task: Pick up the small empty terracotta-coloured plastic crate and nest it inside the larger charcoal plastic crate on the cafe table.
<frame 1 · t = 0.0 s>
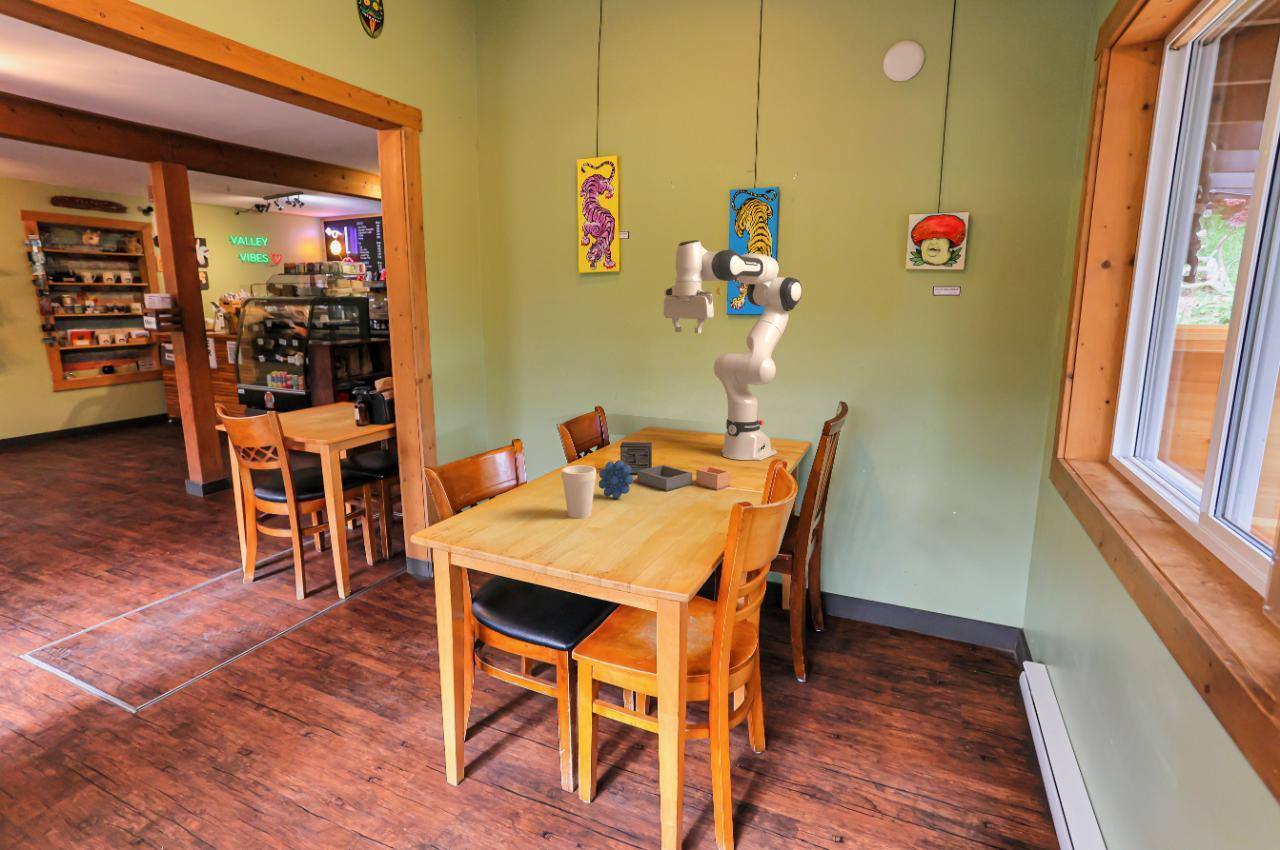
hand: (687, 332, 216), 48 cm above the table, fingers open, 8 cm apart
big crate: (664, 483, 208), on the table
grapes: (617, 498, 194), on the table
small crate: (712, 485, 206), on the table
small box: (636, 473, 221), on the table
foam cup: (579, 515, 178), on the table
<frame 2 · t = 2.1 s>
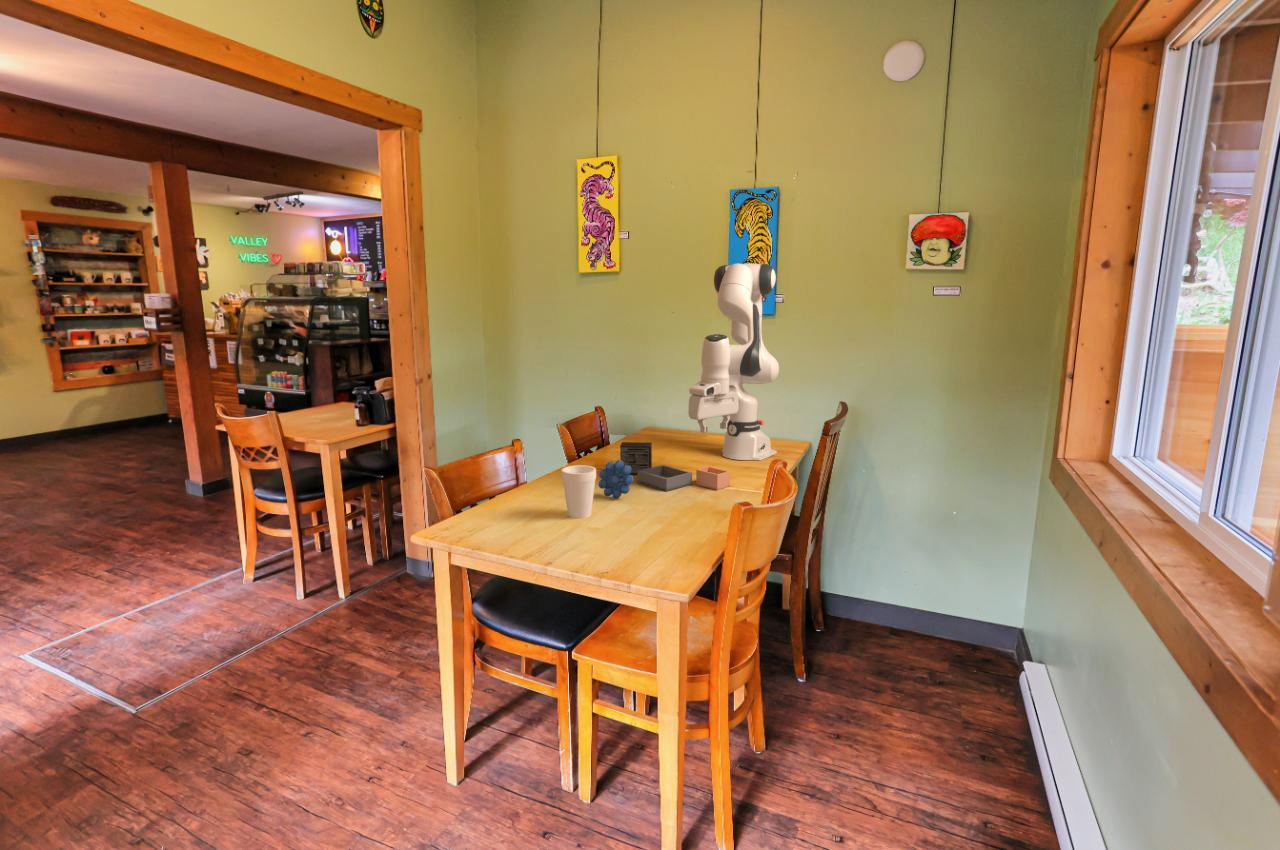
hand: (713, 430, 203), 18 cm above the table, fingers open, 8 cm apart
nothing on the table moved.
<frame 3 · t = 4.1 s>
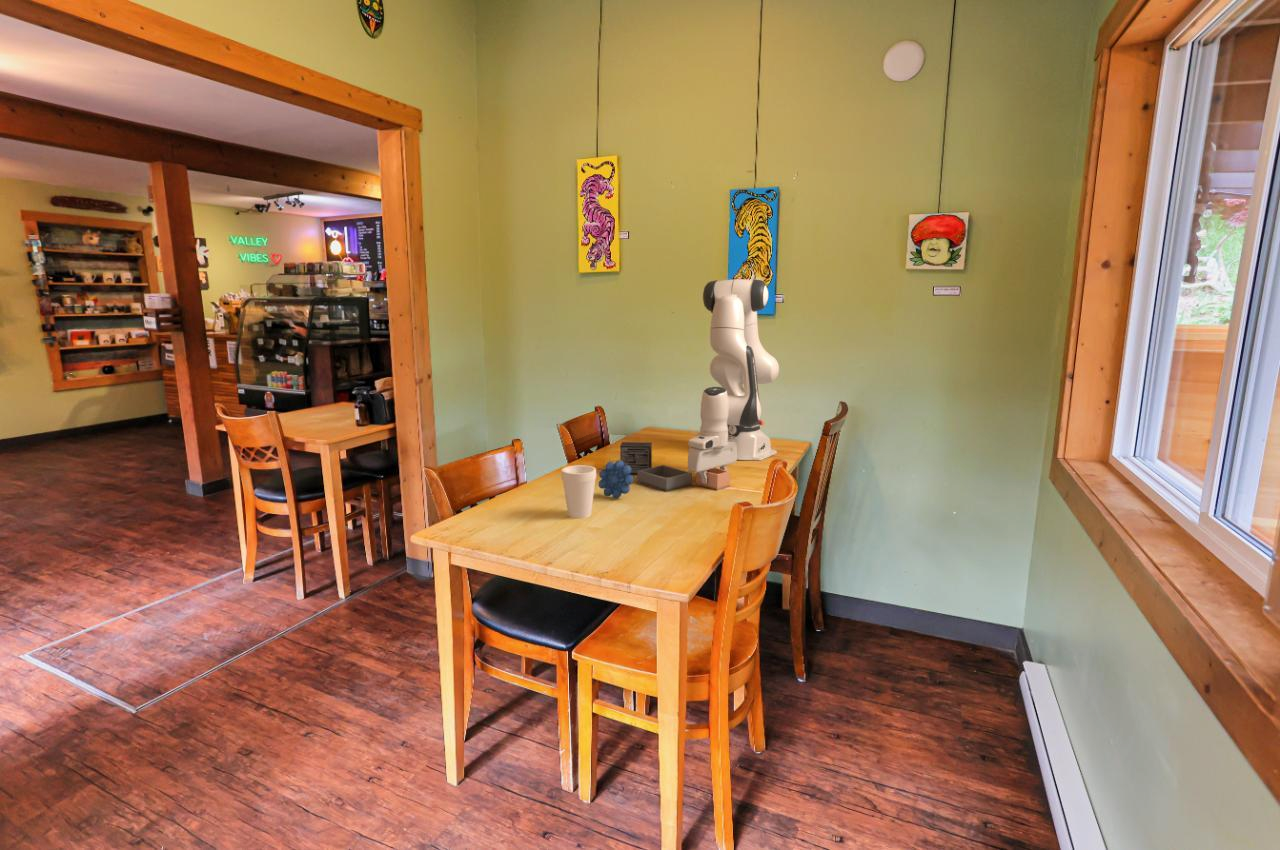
hand: (712, 480, 206), 2 cm above the table, fingers closed on small crate, 6 cm apart
small crate: (712, 485, 206), on the table, touching gripper
everything else where it was.
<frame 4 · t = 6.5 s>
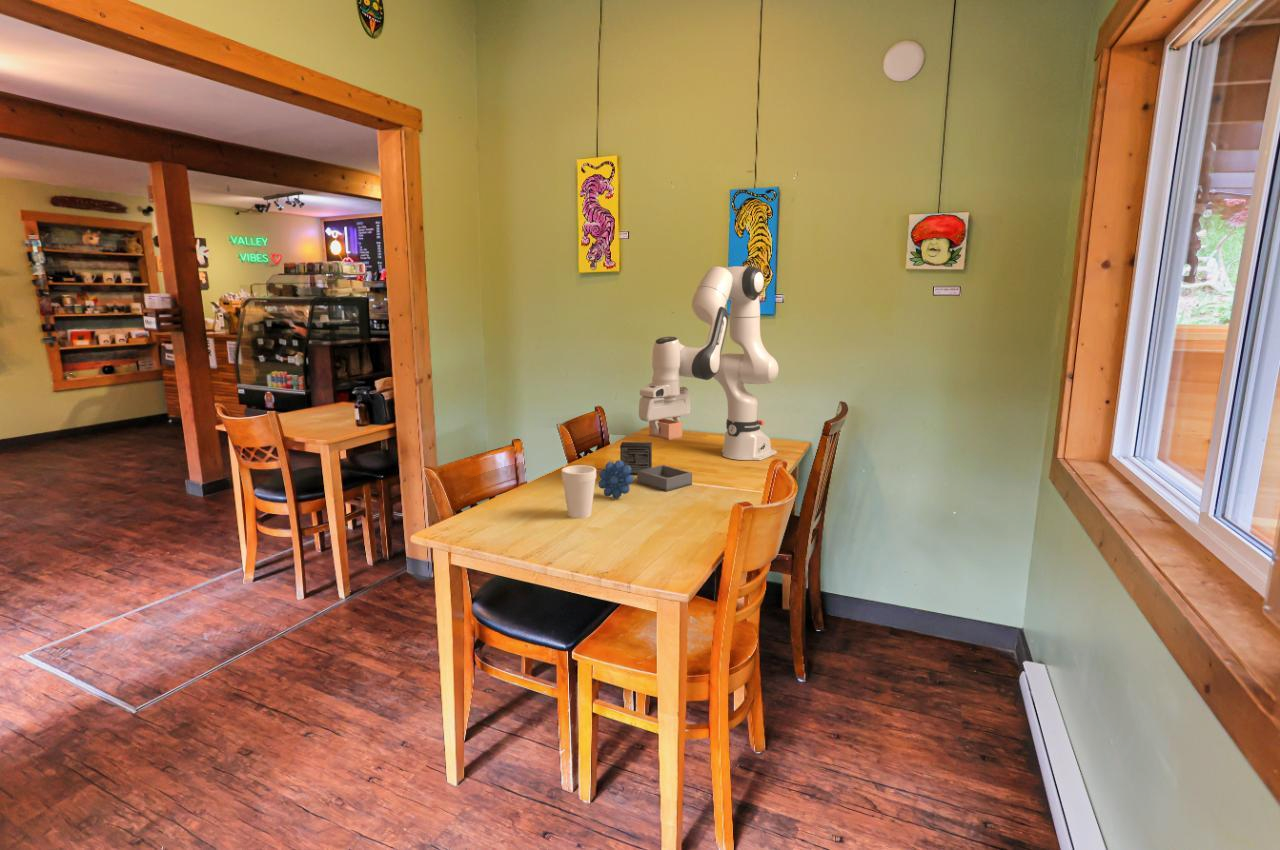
hand: (665, 431, 205), 17 cm above the table, fingers closed on small crate, 6 cm apart
small crate: (665, 436, 205), point 16 cm above the table, touching gripper
everything else where it was.
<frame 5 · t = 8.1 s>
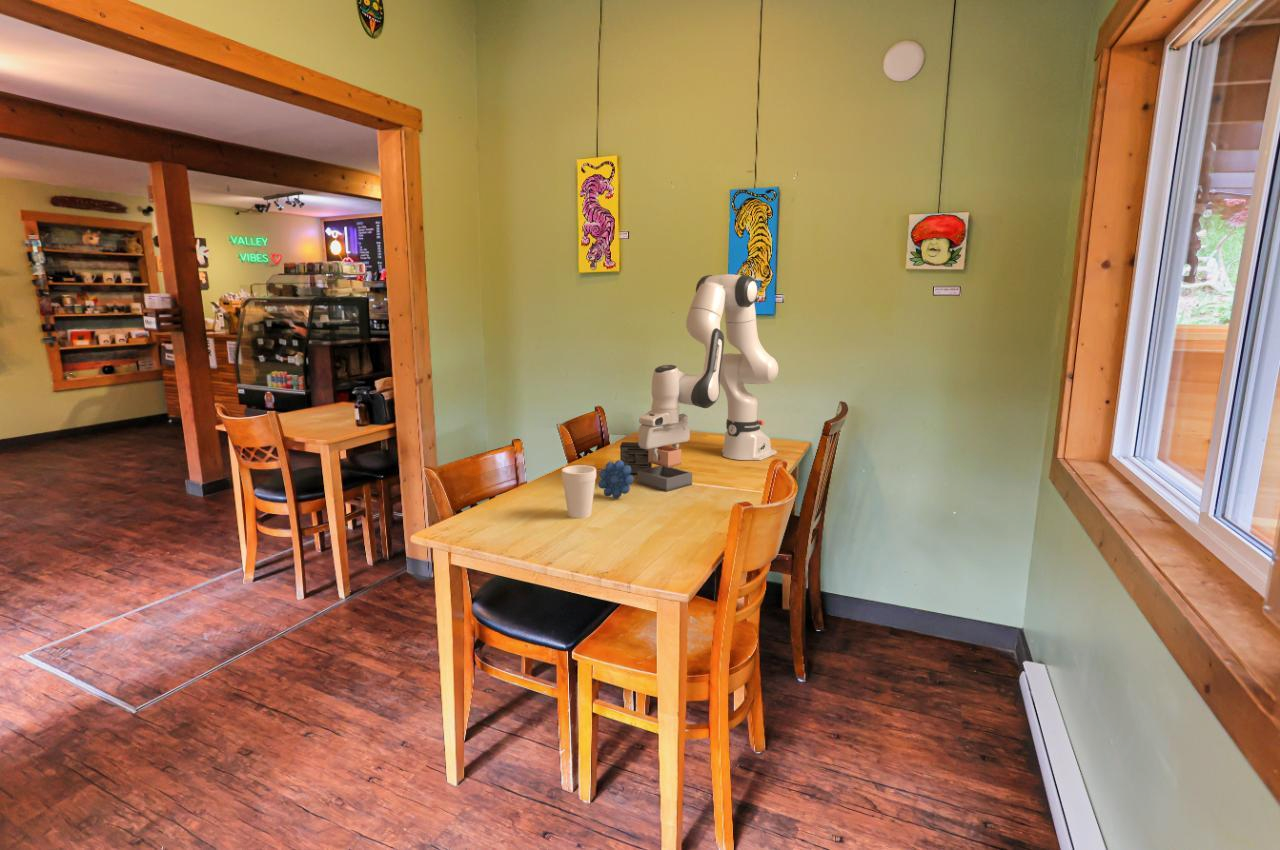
hand: (664, 458, 207), 8 cm above the table, fingers closed on small crate, 6 cm apart
small crate: (664, 463, 207), point 7 cm above the table, touching gripper
everything else where it was.
when the fingers open (5 cm above the table, at t = 9.3 s): small crate drops 3 cm, resting on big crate.
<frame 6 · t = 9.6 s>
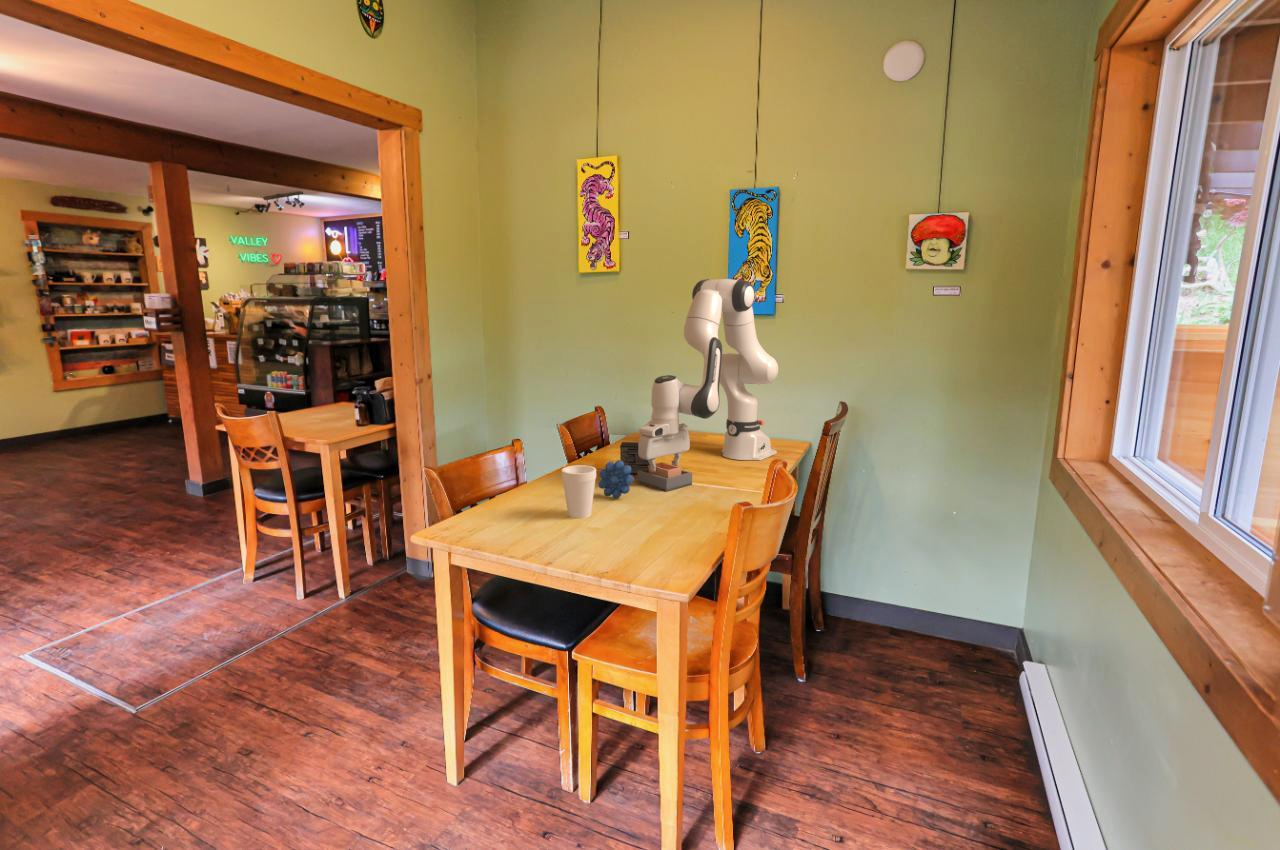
hand: (664, 468, 208), 5 cm above the table, fingers open, 8 cm apart
small crate: (664, 481, 208), point 1 cm above the table, touching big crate
everything else where it was.
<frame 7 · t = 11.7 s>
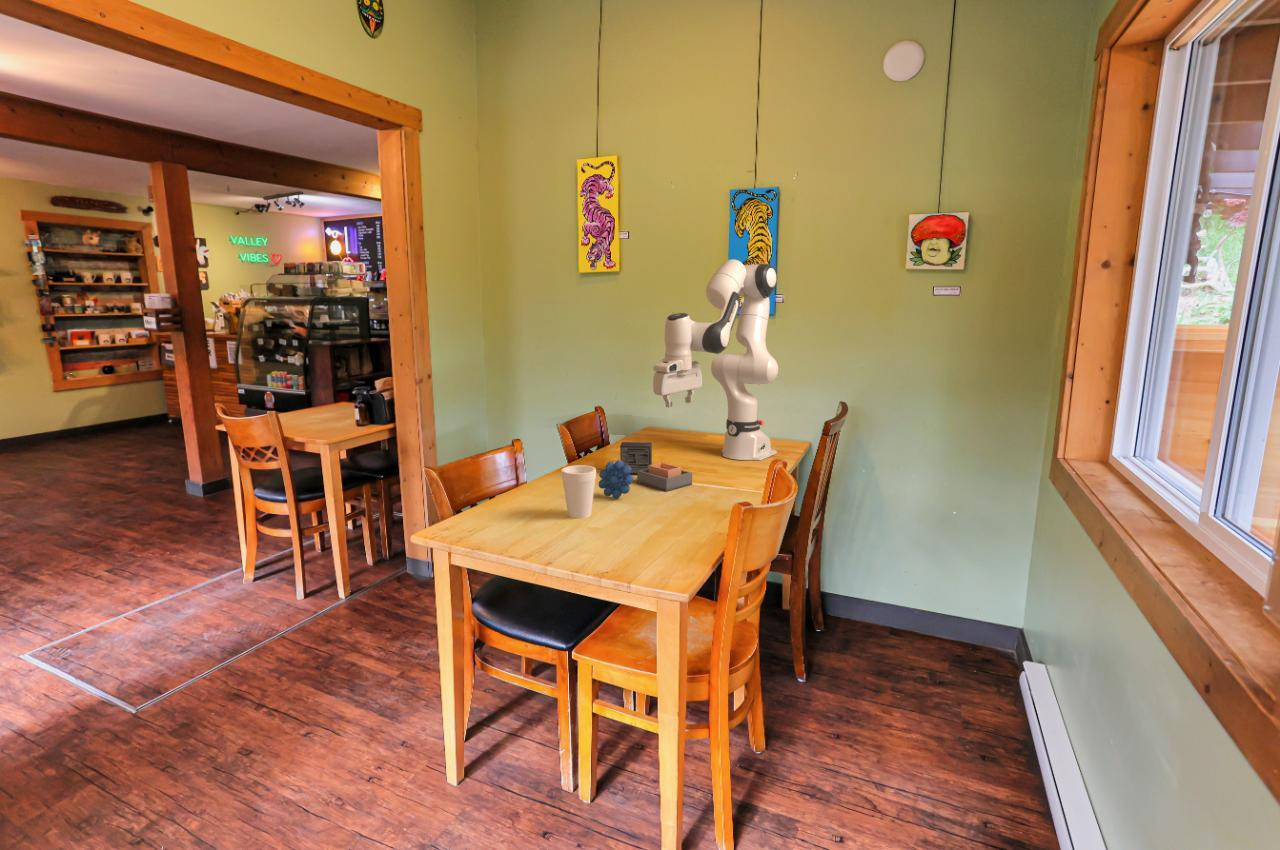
hand: (678, 404, 214), 24 cm above the table, fingers open, 8 cm apart
nothing on the table moved.
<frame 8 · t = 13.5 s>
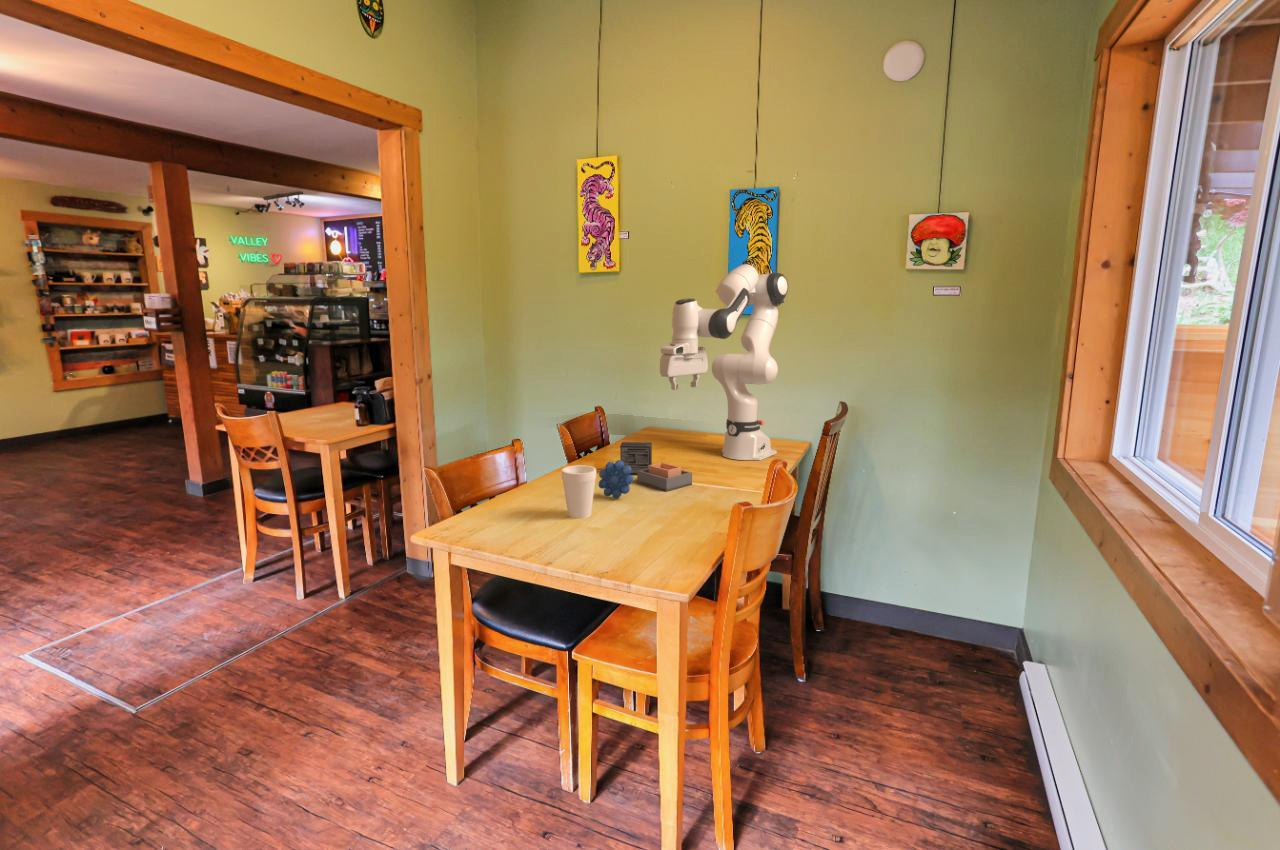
hand: (684, 388, 218), 29 cm above the table, fingers open, 8 cm apart
nothing on the table moved.
at the end: small crate 0.1 cm off-centre on the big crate, point 0.8 cm above the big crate's base; small crate tilted 0°; the gripper is holding nothing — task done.
